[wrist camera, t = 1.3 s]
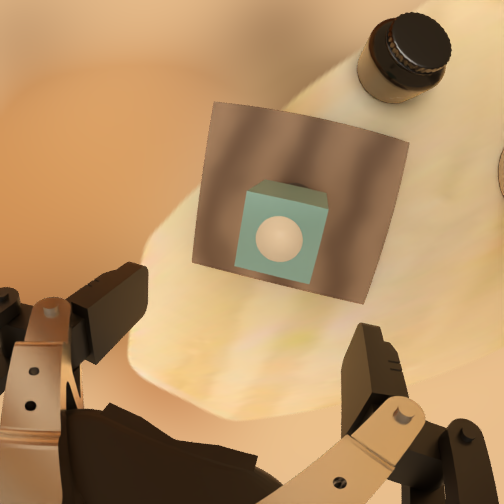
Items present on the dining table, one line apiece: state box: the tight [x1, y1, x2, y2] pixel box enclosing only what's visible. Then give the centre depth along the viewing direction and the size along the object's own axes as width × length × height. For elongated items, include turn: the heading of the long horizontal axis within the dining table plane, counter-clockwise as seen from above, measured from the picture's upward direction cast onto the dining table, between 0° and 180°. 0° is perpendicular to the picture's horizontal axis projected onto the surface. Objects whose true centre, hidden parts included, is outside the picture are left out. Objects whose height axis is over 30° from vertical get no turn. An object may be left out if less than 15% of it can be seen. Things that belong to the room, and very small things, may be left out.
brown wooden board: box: [192, 102, 409, 304], centre depth 29 cm, size 20×18×9 cm
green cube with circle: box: [234, 179, 329, 284], centre depth 23 cm, size 5×5×7 cm
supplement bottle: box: [357, 12, 452, 103], centre depth 20 cm, size 7×7×12 cm
